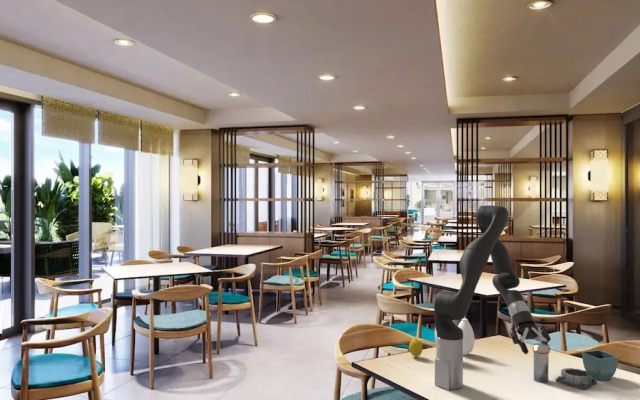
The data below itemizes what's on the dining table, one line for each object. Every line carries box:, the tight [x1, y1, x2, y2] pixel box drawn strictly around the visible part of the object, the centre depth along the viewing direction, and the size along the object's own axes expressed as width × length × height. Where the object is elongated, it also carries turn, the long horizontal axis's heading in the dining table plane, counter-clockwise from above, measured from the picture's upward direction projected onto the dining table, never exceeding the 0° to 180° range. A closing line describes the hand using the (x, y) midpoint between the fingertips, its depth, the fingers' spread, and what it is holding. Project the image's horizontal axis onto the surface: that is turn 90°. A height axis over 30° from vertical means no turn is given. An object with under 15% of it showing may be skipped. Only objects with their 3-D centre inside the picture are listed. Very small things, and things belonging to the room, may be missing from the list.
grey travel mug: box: [532, 342, 551, 384], centre depth 180 cm, size 6×6×13 cm
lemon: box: [408, 338, 424, 358], centre depth 205 cm, size 6×6×8 cm
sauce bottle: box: [457, 316, 475, 356], centre depth 210 cm, size 8×8×18 cm
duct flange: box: [555, 367, 598, 391], centre depth 178 cm, size 10×10×4 cm
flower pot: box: [581, 349, 619, 382], centre depth 183 cm, size 9×9×9 cm
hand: (537, 352), depth 182 cm, fingers open, 8 cm apart
